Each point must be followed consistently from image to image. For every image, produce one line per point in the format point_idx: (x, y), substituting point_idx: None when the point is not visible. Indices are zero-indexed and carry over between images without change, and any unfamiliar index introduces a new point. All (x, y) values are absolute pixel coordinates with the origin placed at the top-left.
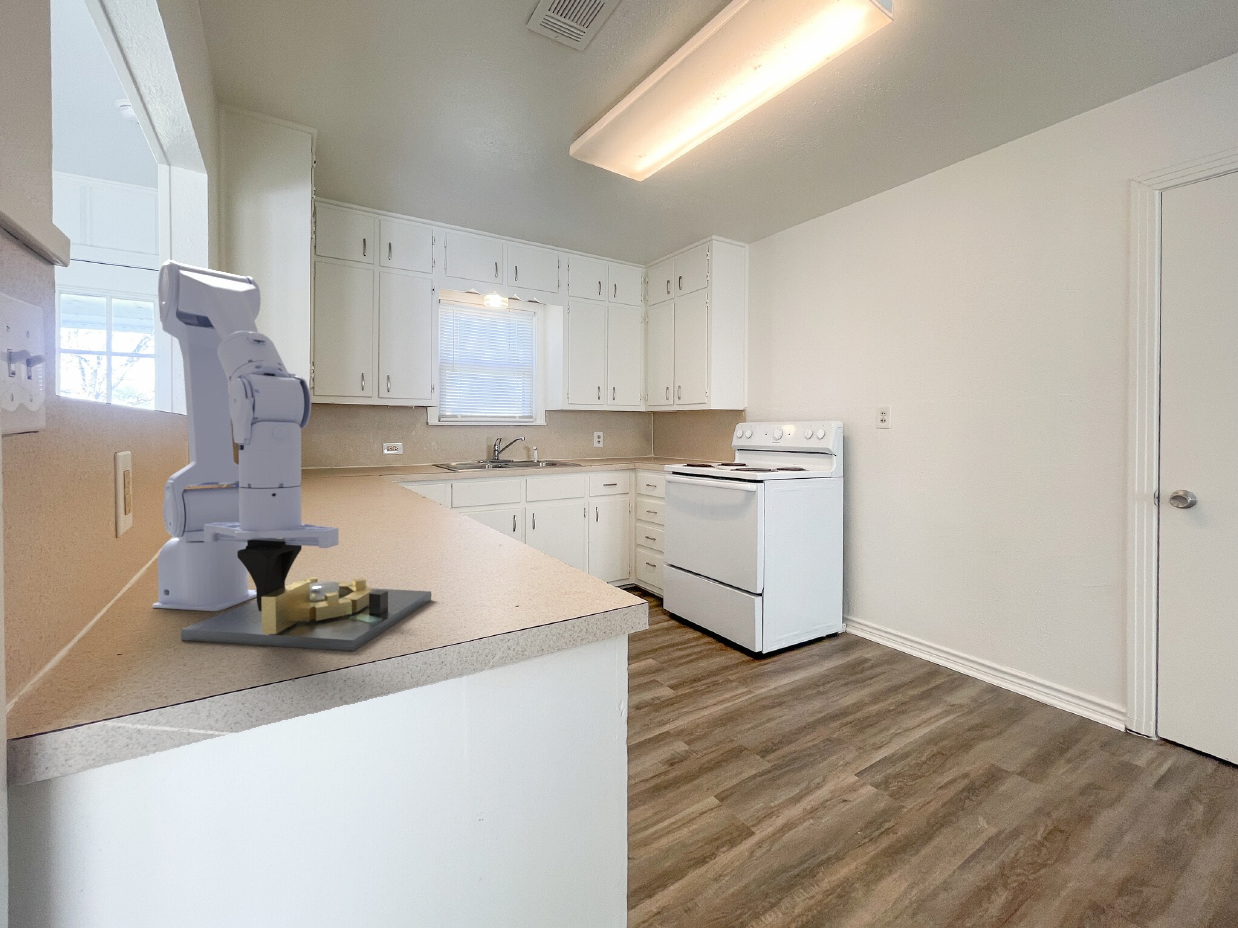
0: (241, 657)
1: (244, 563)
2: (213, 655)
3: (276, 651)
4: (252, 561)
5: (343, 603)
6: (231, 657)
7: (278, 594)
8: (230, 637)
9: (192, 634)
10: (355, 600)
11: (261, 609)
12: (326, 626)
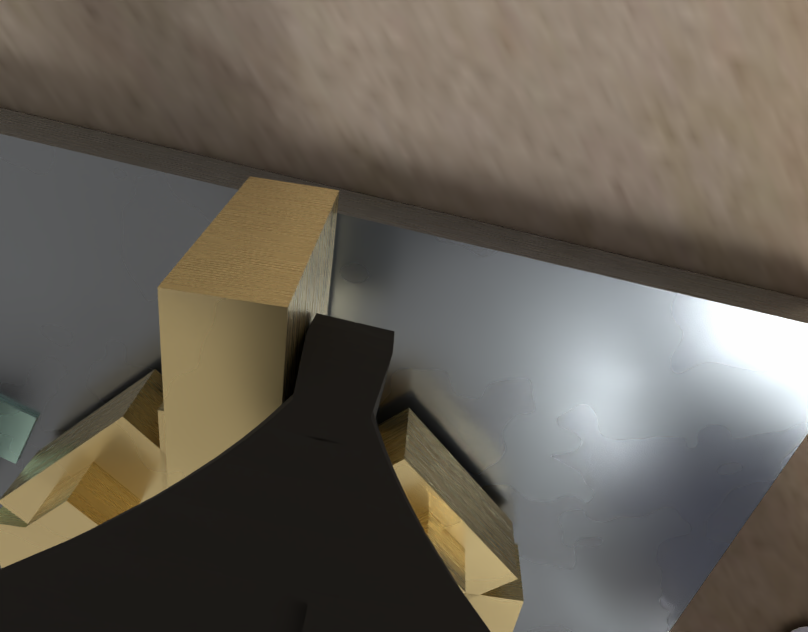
0: (405, 49)
1: (450, 608)
2: (580, 94)
3: (260, 126)
4: (298, 600)
5: (27, 478)
6: (462, 54)
7: (178, 350)
8: (560, 251)
9: (791, 308)
10: (1, 519)
11: (371, 330)
12: (73, 310)
